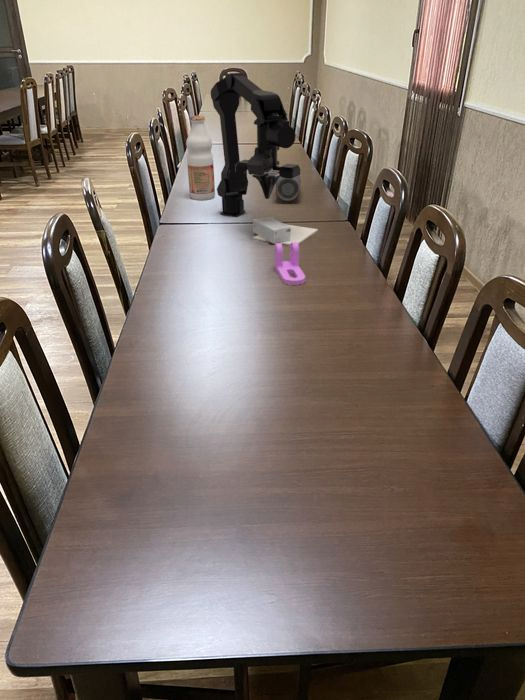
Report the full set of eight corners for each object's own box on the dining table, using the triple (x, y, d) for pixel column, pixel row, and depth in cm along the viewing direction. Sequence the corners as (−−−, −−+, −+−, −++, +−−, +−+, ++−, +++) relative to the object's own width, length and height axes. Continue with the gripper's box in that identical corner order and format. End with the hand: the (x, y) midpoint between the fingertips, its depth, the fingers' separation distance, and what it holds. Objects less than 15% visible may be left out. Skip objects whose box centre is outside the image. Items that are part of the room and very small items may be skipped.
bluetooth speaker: (301, 204, 191) (301, 175, 186) (274, 204, 192) (274, 175, 186) (299, 189, 211) (300, 162, 206) (276, 188, 211) (276, 162, 206)
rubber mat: (252, 238, 159) (252, 237, 159) (277, 224, 171) (277, 223, 171) (295, 246, 153) (295, 244, 153) (317, 230, 165) (317, 229, 165)
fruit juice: (184, 197, 201) (178, 116, 187) (204, 192, 206) (199, 113, 192) (200, 202, 195) (195, 118, 181) (220, 197, 200) (216, 116, 186)
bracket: (274, 267, 140) (274, 241, 137) (295, 265, 141) (295, 240, 137) (285, 286, 129) (285, 259, 126) (307, 285, 130) (308, 257, 126)
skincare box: (252, 232, 163) (272, 245, 154) (252, 217, 161) (272, 230, 152) (270, 229, 165) (290, 241, 157) (270, 214, 163) (291, 226, 154)
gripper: (224, 145, 150) (226, 201, 157) (284, 150, 142) (283, 209, 150) (244, 139, 158) (245, 192, 166) (301, 143, 150) (300, 199, 158)
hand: (267, 198), depth 160 cm, fingers closed
